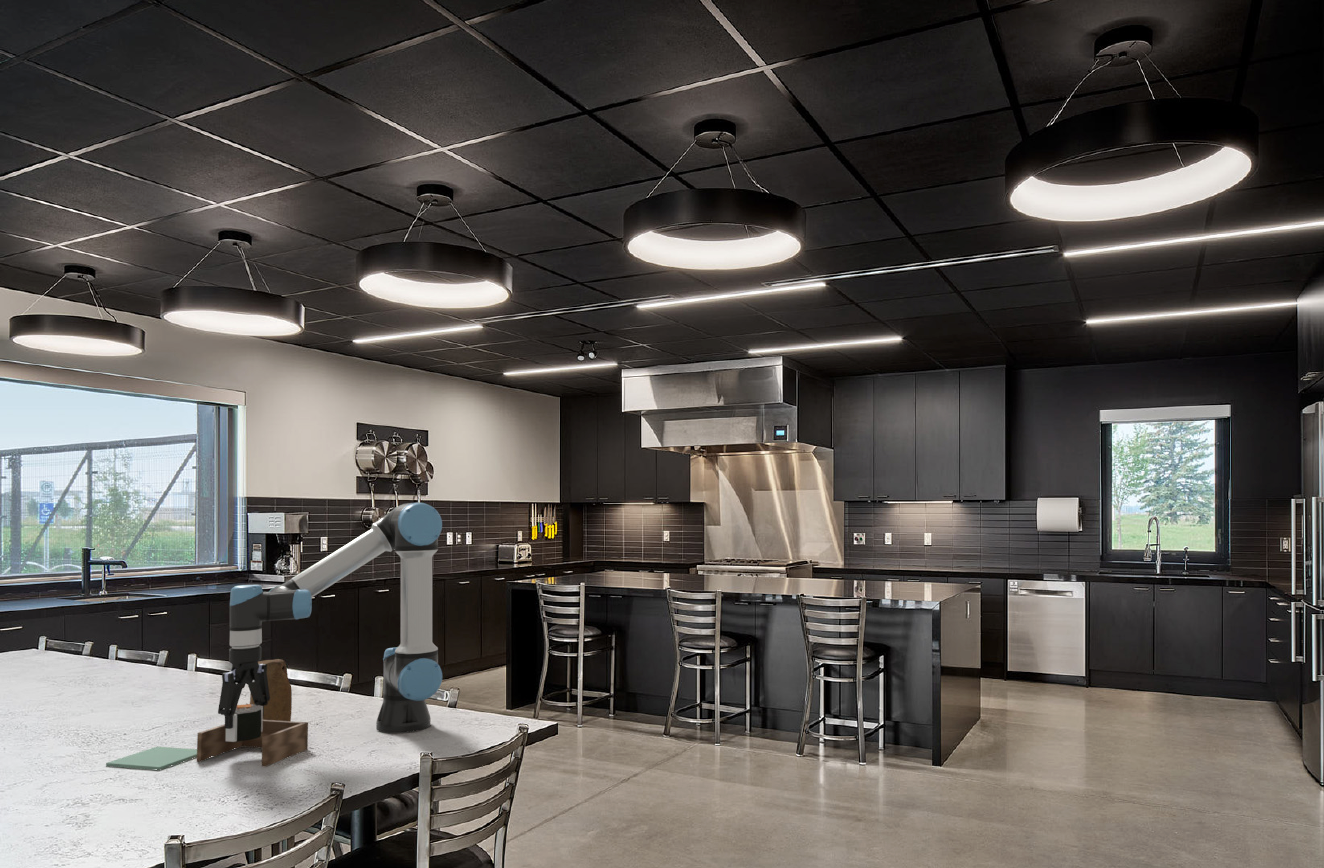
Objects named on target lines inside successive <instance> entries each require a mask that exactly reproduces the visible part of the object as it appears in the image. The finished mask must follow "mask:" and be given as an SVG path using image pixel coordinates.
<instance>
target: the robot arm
mask: <svg viewBox="0 0 1324 868" xmlns="http://www.w3.org/2000/svg"><path fill="white" fill-rule="evenodd" d="M442 530H443V520H442V517H441V514H440V513H439V512H438V510H437V509H436V508H434V507H433V506H432V505H430V504H427V503H424V502H419V501H418V502H406V503H403V504H400V505H398V506H396V507H395V508H393V509H392V510H391V511H389V512H388V513H387V514H385V515H384V516H382V517H381V518H380V519H378V520H376V521H375V522H373V523H372V524H371V528H370V529H369V530H367V531H366V532H364V533H362V534H361V535H359V536H358V537H356V538H354V539H353V540H352V541H349V542H348V543H347V544H345V545H343V546H342V547H340V548H338V549H337V550H335V551H333V552H332V553H331V554H329V555H326V557H324V558H322V559H321V560H319V561H318V562H316V563H314V564H313V565H311V566H310V567H308V568H306V569H305V570H303V571H301V572H300V573H298V574H297V575H295V576H293V577H292V578H291V579H289V580H287V581H285V582H284V583H282V584H280V585H277V586H274V587H272V588H271V589H270V590H269V591H264V590H263V587H262V585H261V584H240V585H235V586H233V587H232V588H231V589H230V599H229V646H230V648H229V649H228V650H229V651H228V652H229V655H228V657H229V658H228V661H229V663H230V664H231V670H230V671H229V672H223V673H222V675H221V678H222V684H221V691H220V697H219V703H218V711H217V713H218V714H219V715H221V716H224V724H225V729H226V741H229V742H236V741H237V714H235V710H236V707H237V705H239V701H240V697H241V694H242V691H243V689H244V688H245V687H246V685H247V687H248V689H249V693H251V695H252V698H253V701H254V704H255V705H256V706H258V705H259V706H261V707H262V709H261V732H263V716H264V705H267V704H268V701H269V700H270V694H269V687H268V680H267V664H258V661H262V646H261V644H262V642H263V636H262V635H263V633H262V631H263V630H262V628H263V624H262V623H263V622H269V621H270V622H271V621H285V620H287V621H288V620H299V619H305V618H307V619H308V618H310V616H311V614H312V608H313V607H312V603H313V602H312V601H313V599H312V598H314V597H315V596H316V595H318V594H320V593H321V592H323V591H324V590H326V589H328V588H329V587H331V586H333V585H334V584H335V583H337V582H339V581H340V580H342V579H343V578H345V577H347V576H348V575H349V574H351V573H353V572H354V571H356V570H358V569H359V568H361V567H363V566H364V565H366V564H367V563H369V562H370V561H372V560H374V559H376V558H377V557H378V556H380V555H381V554H383V553H384V552H392V551H394V553H396V554H397V555H398V556H399V558H400V644H399V645H398V646H397V647H389V648H386V649H385V651H384V652H383V658H382V660H383V679H382V680H383V683H382V684H383V688H382V689H383V690H382V691H383V692H382V695H383V697H382V703H381V707H380V710H379V712H378V715H377V719H376V724H375V725H376V731H378V732H381V733H388V734H403V733H405V734H406V733H412V732H418V731H422V730H426V729H427V728H429V727H430V726H431V720H432V719H431V715H430V712H429V707H428V706H427V702H426V700H428V699H430V698H431V697H433V696H434V695H435V694H436V693H437V692H438V691H439V689H440V687H441V685H442V681H443V671H442V669H441V666H440V665H439V647H438V646H436V645H435V644H434V642H433V556H434V555H435V554H436V553H437V551H439V547H438V546H439V545H438V544H439V540H438V539H439V537H440V535H441V532H442ZM264 695H265V696H264ZM230 708H231V710H230Z"/></svg>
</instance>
